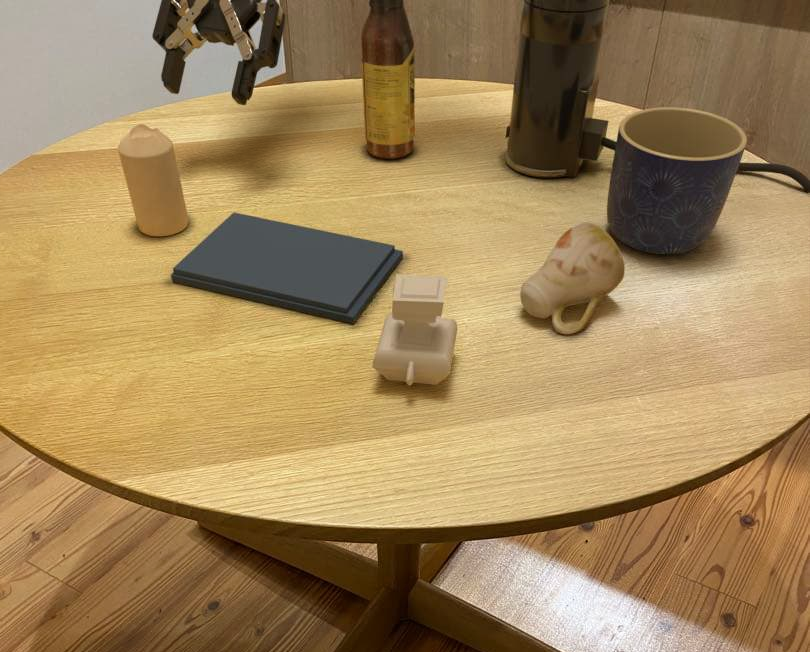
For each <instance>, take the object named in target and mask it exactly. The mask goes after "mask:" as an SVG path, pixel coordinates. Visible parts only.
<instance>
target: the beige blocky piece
mask: <svg viewBox="0 0 810 652" xmlns="http://www.w3.org/2000/svg"><path fill="white" fill-rule="evenodd" d="M447 282H448V276H444V275H442V276H441V275H424V274H423V275H421V274H404V273H403V274H402V273H401V274H400V273H396V275H395V279H394V283H393V288H392V301H391V303H392V304H391V312H388V313H386V315H385V318H384V321H383V326H382V329H381V332H380V335H379V336H380V337H379V340H378V342H377V347H376V350H375V353H374V357H373V361H372V368H373V369H374V370H375V371H376V372H377V373H379V374H380V375H381V376H383V377H385V379H386V380H387V381H393V382H405V383H406V384H407V385H408V386H411V385H413V383H414V384H424V385H436V386H437V385H439V383H440V382H442V381H443V380H445V379H446V378H447V377H448V376H450V374H451V370H452V369H451V367H452V362H453V356H454V352H455V347H456V340H457V335H458V323H457V322H456V320H455V319H454V318H449V317H442V315H443V310H444V304H445V297H446V289H447Z"/></svg>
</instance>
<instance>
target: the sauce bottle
mask: <svg viewBox="0 0 810 652" xmlns="http://www.w3.org/2000/svg"><path fill="white" fill-rule="evenodd" d="M368 6H369V8H370V9H369V12H368V14H367V17H366V19H365V21H364V22H363V23H364V24H363V26H362V28H361V33H360V41H361V58H360V59H361V61H360V62H361V63H360V64H361V80H362V81H361V82H362V102H363V121H364V139H365V141H366V149H367V152H368V153H369V154H370V155H372V156H374V157H376V158H379V159H385V160H386V159H387V160H391V159H399V158H404V157H406V156H408V155H409V154H410V153H411V152H412V151H413V149H414V138H415V135H416V127H415V125H416V122H415V121H416V120H415V119H416V118H415V117H416V113H415V112H416V111H415V110H416V109H415V108H416V106H415V105H416V104H415V103H416V97H415V95H416V94H415V93H416V89H415V88H416V87H415V86H416V85H415V84H416V81H415V80H416V79H415V78H416V75H415V74H416V73H415V51H416V50H415V40H414V37H413V34H412V29H411V26H410V22H409V19H408V15H407V12H406V9H405V5H404V0H369V1H368Z"/></svg>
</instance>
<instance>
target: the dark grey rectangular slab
mask: <svg viewBox="0 0 810 652" xmlns="http://www.w3.org/2000/svg"><path fill="white" fill-rule="evenodd" d="M403 257H404V251H403V250H399V249H396V245H395V244H391V243H384V242H380V241H375V240H371V239H366V238H359V237H356V236H352V235H345V234H341V233H336V232H331V231H328V230H327V231H326V230H323V229H322V230H321V229H315V228H312V227H307V226H302V225H298V224H292V223H288V222H284V221H278V220H273V219H268V218H264V217H259V216H254V215H248V214H245V213H239V212H232V213H231V214H230V215H229V216H228V217H227V218H226V219H225V220H224V221H222V222H221V223H220V224H219V225H218V226H217V227H216V228H215V229H213V231H211V233H209V234H208V235H207V236H206V237H205V238H204V239H203V240H202V241H201V242H200V243H198V245H196V246H195V247H194V248H193V249H192V250H191V251H190V252H189V253H188V254H186V255H185V256H184V257H183V258H182V259H181V260H180V261H179V262H178V263H177V264H176V265H175V266H174V267H173V268H172V273H171V274H170V277H171V281H172V283H176V284H180V285H184V286H189V287H193V288H197V289H203V290H206V291H211V292H215V293H218V294H219V293H220V294H223V295H228V296H232V297H236V298H241V299H244V300H248V301H253V302H258V303H262V304H266V305H271V306H274V307H278V308H283V309H286V310H287V309H288V310H292V311H296V312H301V313H305V314H309V315H313V316H318V317H322V318H326V319H330V320H333V321H334V320H335V321H338V322H342V323H347V324H352V325H354V324H355V323H356V322H357V320H358V319H359V317H360V316H361V315H362V313H363V312H364V311H365V310H366V308H367V307H368V305H369V304H370V302H371V301H372V300H373V299H374V297H375V296H376V295H377V293H378V292H379V290H380V289H381V288H382V287H383V285H384V284H385V282H386V281H387V280H388V278H389V277H390V276H391V274H392V273H393V272H394V270H395V269H396V268H397V266H398V265H399V264H400V262H401V261H402V259H403Z"/></svg>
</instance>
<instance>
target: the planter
mask: <svg viewBox="0 0 810 652" xmlns="http://www.w3.org/2000/svg"><path fill="white" fill-rule="evenodd" d="M747 144H748V139H747V135H746V133H745V131H744V130H743V129H742V128H741V127H740V126H739V125H738V124H736V123H735V122H733V121H731V120H729V119H727V118H725V117H723V116H721V115H719V114H715V113H713V112H708V111H704V110H700V109H695V108H688V107H675V106H669V107H668V106H661V107H650V108H645V109H641V110H638V111H635V112H632V113H630V114H628V115H627V116H625V117H624V118H623V119H622V120H621V121H620V123H619V125H618V130H617V136H616V147H615V151H614V154H613V159H612V160H613V161H612V164H611V165H612V167H611V172H610V177H609V185H608V193H607V200H606V201H607V202H606V203H607V205H606V216H607V217H606V218H607V223H608V226H609V229H610V231H611V232H612V234H613V235H614V236H615V237H616V239H618V240H619V241H620V242H621V243H624V244H625V245H627V246H628V247H630V248H632V249H635V250H637V251H641V252H643V253H644V252H645V253H649V254H655V255H677V254H682V253H686V252H688V251H691V250H693V249H695V248H698V247H699V246H701V245H702V244H704V242H706V240H708V238H709V237H710V236H711V234H712V232H713V231H714V229H715V227H716V226H717V223H718V221H719V219H720V217H721V214H722V212H723V210H724V207H725V205H726V202H727V199H728V198H729V195H730V191H731V188H732V185H733V183H734V180H735V178H736V175H737V172H738V171H737V169H738V167H739V164H740V163H741V161H742V158H743V155H744V152H745V149H746V146H747Z"/></svg>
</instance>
